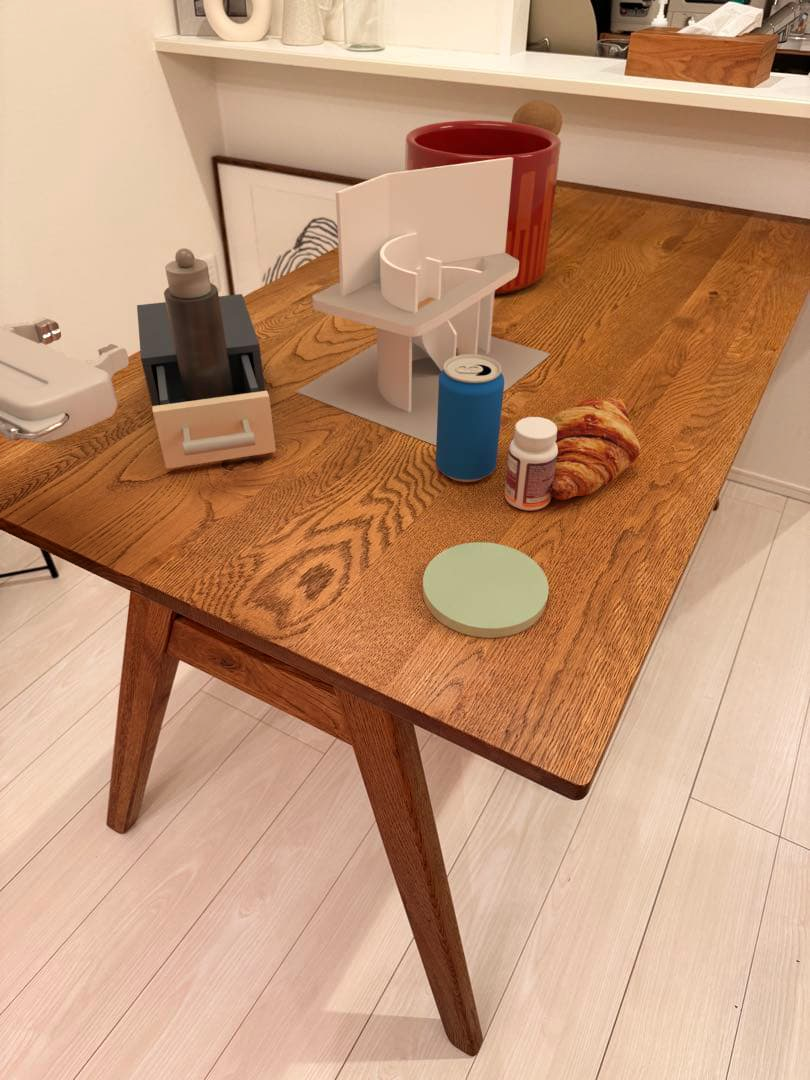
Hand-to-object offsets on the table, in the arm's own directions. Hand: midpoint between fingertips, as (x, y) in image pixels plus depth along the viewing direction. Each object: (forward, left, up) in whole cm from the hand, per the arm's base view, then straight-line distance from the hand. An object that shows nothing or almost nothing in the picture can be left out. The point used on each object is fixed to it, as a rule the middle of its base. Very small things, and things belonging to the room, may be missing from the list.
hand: (87, 340), depth 69 cm
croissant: (+48, -9, -17) cm, 52 cm away
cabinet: (+10, +18, -16) cm, 26 cm away
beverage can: (+35, -7, -17) cm, 39 cm away
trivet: (+30, -25, -16) cm, 42 cm away
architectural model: (+38, +15, -16) cm, 44 cm away
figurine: (+76, +70, -17) cm, 105 cm away
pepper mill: (+10, +7, -14) cm, 19 cm away
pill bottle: (+39, -14, -16) cm, 44 cm away
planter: (+56, +46, -17) cm, 74 cm away
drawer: (+10, +5, -15) cm, 19 cm away
